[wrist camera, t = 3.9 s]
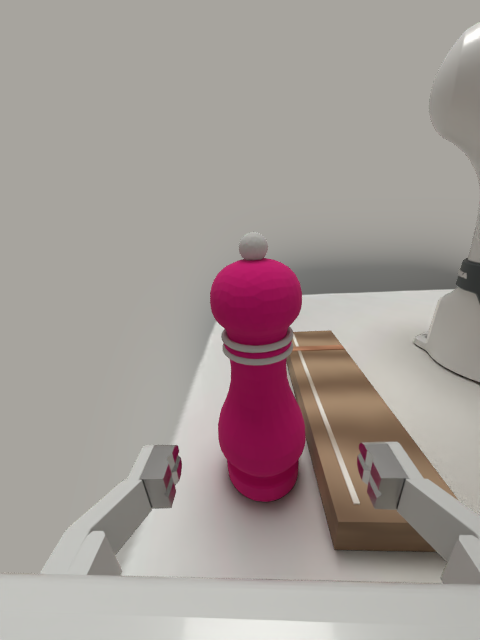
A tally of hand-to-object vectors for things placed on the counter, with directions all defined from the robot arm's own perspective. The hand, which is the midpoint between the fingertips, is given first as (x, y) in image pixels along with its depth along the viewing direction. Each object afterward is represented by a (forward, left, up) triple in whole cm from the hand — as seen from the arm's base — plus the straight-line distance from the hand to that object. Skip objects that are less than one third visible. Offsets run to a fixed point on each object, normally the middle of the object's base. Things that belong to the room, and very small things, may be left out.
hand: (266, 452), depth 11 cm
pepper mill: (-5, -6, -11) cm, 13 cm away
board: (-16, -6, -11) cm, 21 cm away
